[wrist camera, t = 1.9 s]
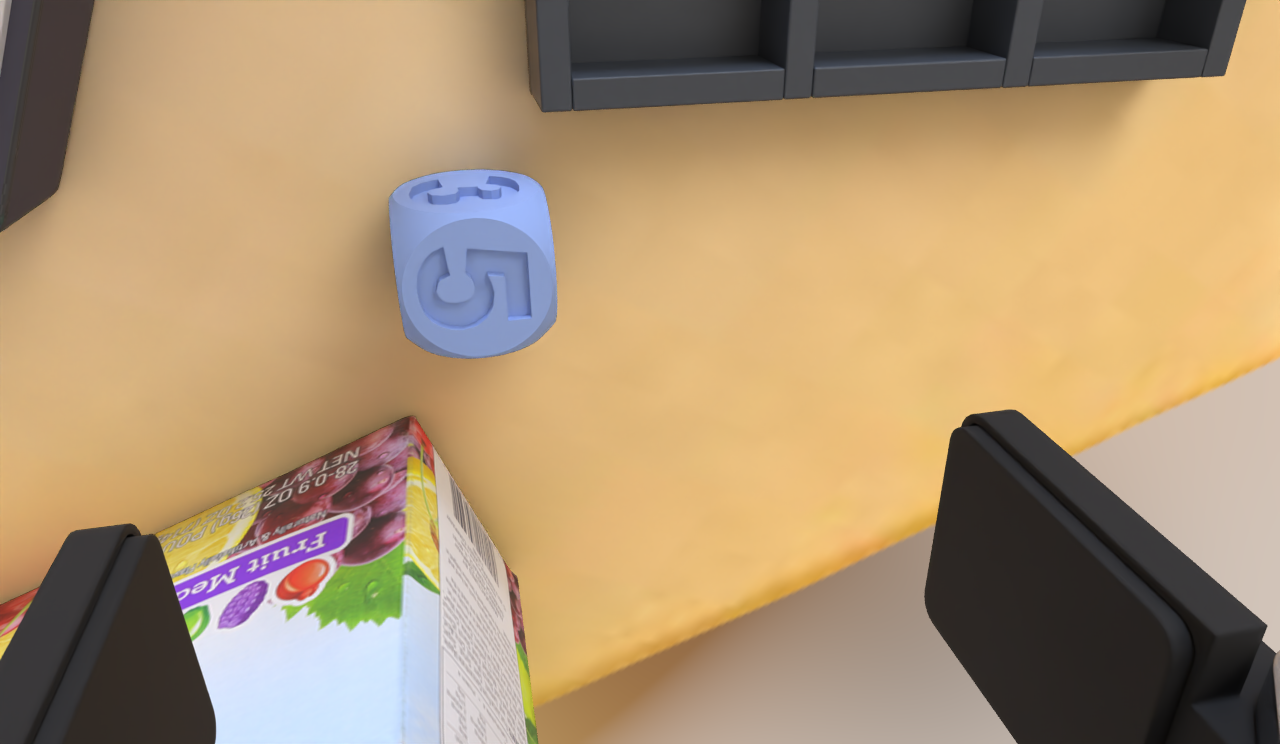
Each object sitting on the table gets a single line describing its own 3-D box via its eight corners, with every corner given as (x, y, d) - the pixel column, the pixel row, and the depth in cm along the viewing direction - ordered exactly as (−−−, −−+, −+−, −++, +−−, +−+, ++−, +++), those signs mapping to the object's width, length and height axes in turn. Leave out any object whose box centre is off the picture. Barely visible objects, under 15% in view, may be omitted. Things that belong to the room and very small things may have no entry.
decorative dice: (542, 293, 28) (561, 351, 25) (408, 306, 27) (408, 367, 24) (533, 164, 26) (553, 207, 23) (389, 173, 25) (386, 220, 22)
